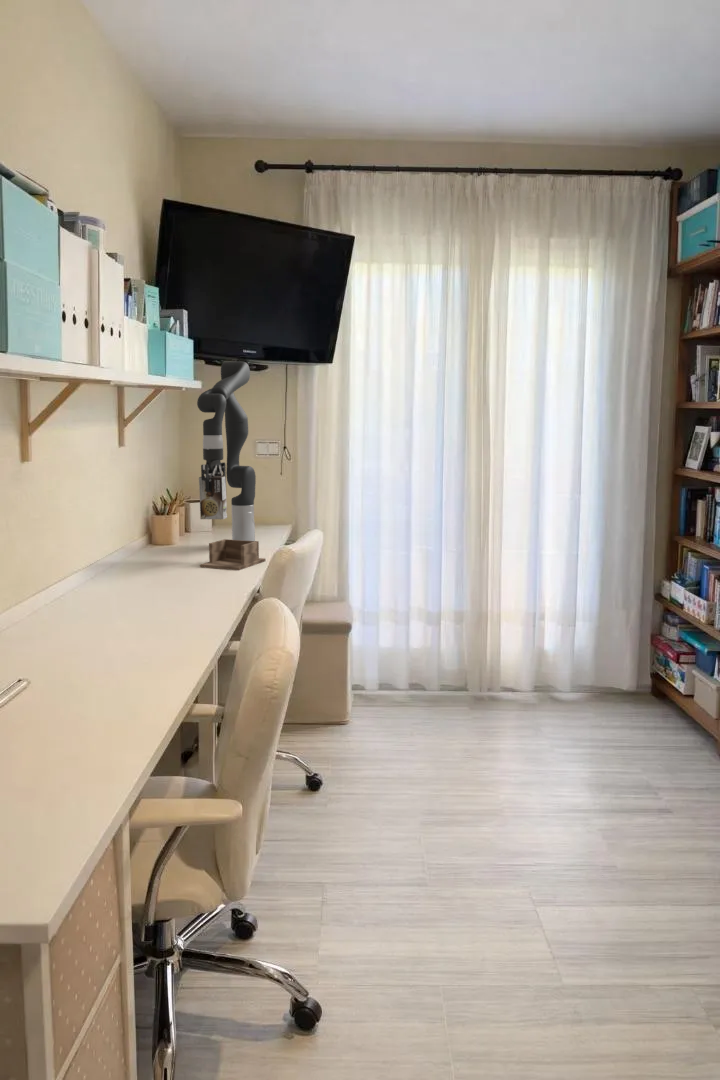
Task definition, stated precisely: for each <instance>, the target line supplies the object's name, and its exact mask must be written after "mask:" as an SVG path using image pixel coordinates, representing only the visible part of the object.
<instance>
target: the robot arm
mask: <svg viewBox="0 0 720 1080" xmlns="http://www.w3.org/2000/svg"><path fill="white" fill-rule="evenodd" d="M220 378H221V379H220V380H219V381H217V382H216V383H215V384H214V385H213V386H212V388H209V389H207V390H205V391H203V392H201V394H199V396H198V398H197V403H196V404H197V408H198V409H199V411H201V412H202V413H207V414H208V413H209V414H210V413H213V414H214V415H213V416H212V417H211V418H207V419H204V420H203V422H202V433H203V435H202V437H203V438H202V458H203V460H204V461H205V464H200V470H201V471H200V472H201V474H200V475H201V476H200V477H201V478H202V481H204V482H205V486H206V492H212V482H211V480H212V477H214V476H226V483H227V484H228V486H229V487H230V488H234V489H241V491H240V493H239V494H238V495H236V496H232V498H231V501H230V502H231V531H232V532H231V540H245V541H256V530H255V529H256V528H255V526H256V522H255V498H256V482H257V481H256V480H257V479H256V477H257V476H256V472H255V468H253V467H252V466H250V465H240V455H241V451H242V449H243V446H244V444H245V443H246V441H247V438H248V436H249V421H248V420H249V419H248V415H247V413H246V412H245V410H244V409H243V407H242V406H241V404H240V403H239V401H238V400H237V398H236V395H235V392H236V391H237V390H239V389H240V388H241V387H242V386H243V387H244V386H245V385H246V384H247V383H248V382H249V381H250V378H251V370H250V366H249V364H248V363H247V362H245V361H238V360H236V361H235V360H234V361H224V362H222V364H221V366H220ZM223 420H224V422H225V423H224V426H225V427H224V429H225V437H226V462H222V461H223V460H224V440H223V438H224V437H223ZM204 476H205V477H204Z"/></svg>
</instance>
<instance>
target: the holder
mask: <svg viewBox="0 0 720 1080" xmlns="http://www.w3.org/2000/svg"><path fill="white" fill-rule="evenodd" d="M259 545H260V544H259V540H255V541H245V540H232V539H230V538H229V539H226V538H224V539H221V540H216V541H213V542H210V543H208V553H209V554H208V559H209V561H207V562H204V563H201V564H200V566H199V567H200V568H205V567H206V568H209V569H219V568H220V570H233V571H240V570H244V569H246V568H250V567H253V566H255V565H258V564H261V563H264V562H266V558H265V557H263V558H262V557H260V552H259V551H260V550H259V549H260V547H259Z"/></svg>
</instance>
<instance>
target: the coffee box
mask: <svg viewBox="0 0 720 1080" xmlns="http://www.w3.org/2000/svg"><path fill="white" fill-rule="evenodd" d="M204 477H205V475H204ZM211 482H212V492H206V486H205V482H204V481H202V478H201V476H200V477H198V486H199V489H198V491H199V511H200V513H199V514H200V517H199V518H200V520H225V519H227V518H228V501H227V475H226V476H214V477H212V480H211Z"/></svg>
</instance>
